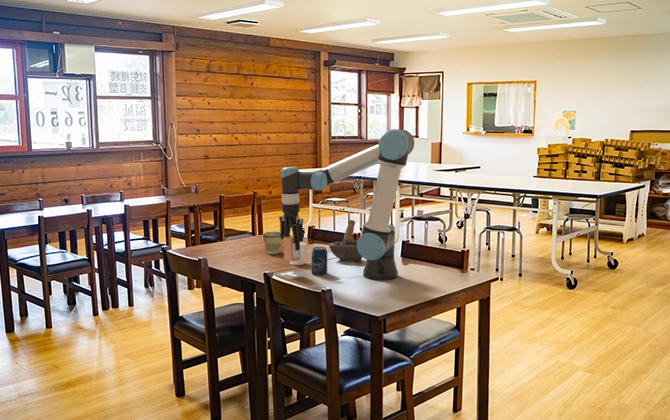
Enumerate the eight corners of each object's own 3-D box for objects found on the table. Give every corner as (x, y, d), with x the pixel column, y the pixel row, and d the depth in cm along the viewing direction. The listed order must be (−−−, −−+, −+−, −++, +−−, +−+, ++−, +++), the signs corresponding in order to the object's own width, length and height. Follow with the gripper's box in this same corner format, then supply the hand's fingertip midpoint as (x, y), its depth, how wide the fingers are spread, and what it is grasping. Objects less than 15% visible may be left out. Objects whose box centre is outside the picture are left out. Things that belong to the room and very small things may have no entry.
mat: (309, 276, 273) (309, 274, 272) (289, 280, 265) (289, 279, 265) (291, 271, 281) (291, 270, 281) (272, 275, 274) (272, 273, 274)
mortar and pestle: (372, 261, 305) (373, 220, 302) (346, 265, 294) (347, 223, 291) (352, 255, 316) (353, 216, 313) (327, 260, 305) (327, 219, 303)
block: (300, 259, 272) (299, 237, 271) (291, 261, 268) (290, 238, 267) (292, 258, 275) (292, 235, 274) (283, 259, 272) (283, 237, 271)
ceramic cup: (274, 255, 315) (274, 235, 314) (259, 253, 321) (259, 233, 319) (289, 251, 326) (289, 232, 325) (274, 248, 332) (274, 230, 330)
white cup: (303, 266, 291) (303, 245, 289) (287, 265, 292) (287, 244, 291) (307, 263, 298) (307, 242, 297) (291, 262, 300) (291, 241, 298)
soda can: (310, 276, 272) (310, 249, 271) (312, 272, 279) (313, 246, 277) (325, 277, 271) (326, 250, 270) (328, 273, 278) (328, 246, 277)
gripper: (311, 204, 265) (312, 258, 268) (284, 201, 278) (285, 252, 281) (297, 205, 260) (298, 260, 263) (270, 202, 273) (272, 255, 276)
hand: (292, 256), depth 272 cm, fingers closed on block, 5 cm apart
